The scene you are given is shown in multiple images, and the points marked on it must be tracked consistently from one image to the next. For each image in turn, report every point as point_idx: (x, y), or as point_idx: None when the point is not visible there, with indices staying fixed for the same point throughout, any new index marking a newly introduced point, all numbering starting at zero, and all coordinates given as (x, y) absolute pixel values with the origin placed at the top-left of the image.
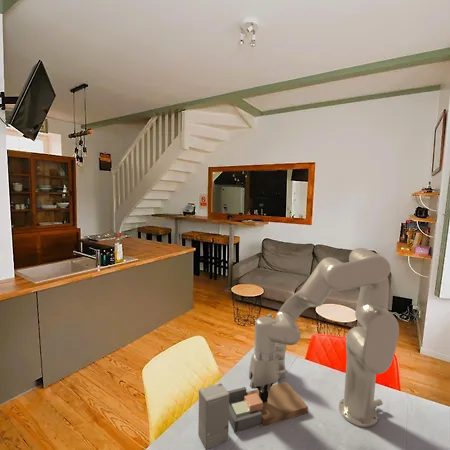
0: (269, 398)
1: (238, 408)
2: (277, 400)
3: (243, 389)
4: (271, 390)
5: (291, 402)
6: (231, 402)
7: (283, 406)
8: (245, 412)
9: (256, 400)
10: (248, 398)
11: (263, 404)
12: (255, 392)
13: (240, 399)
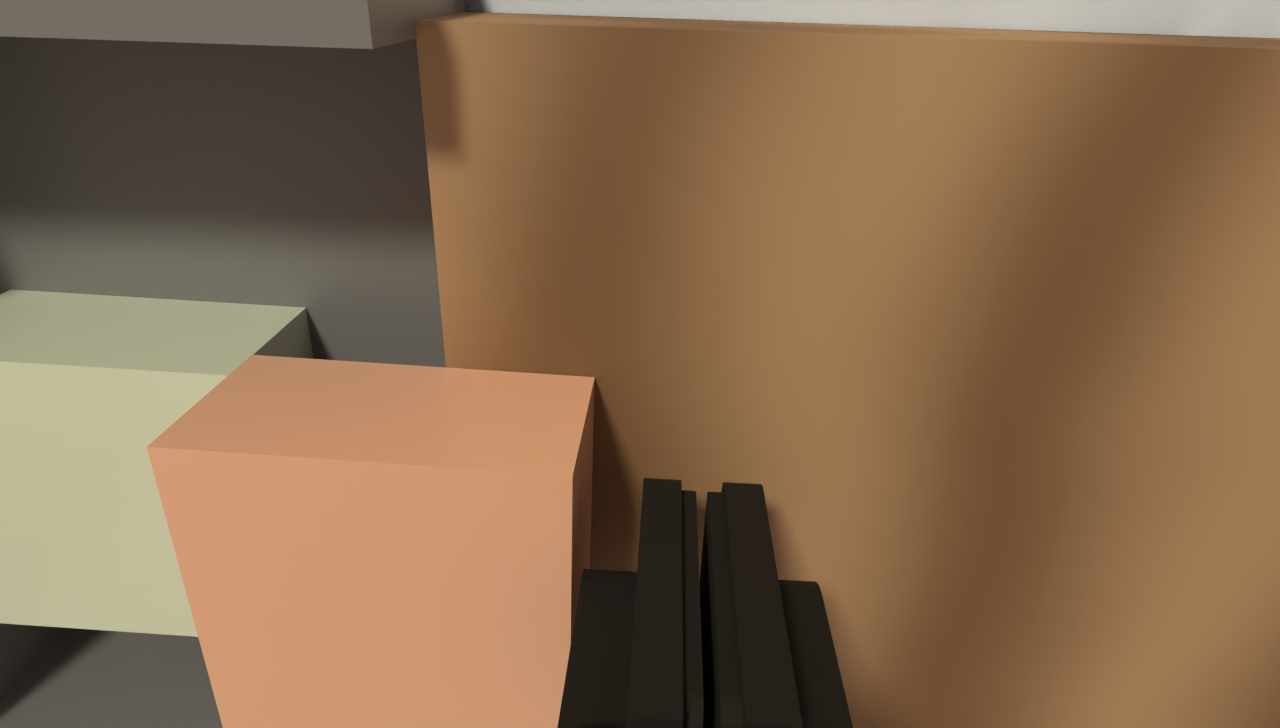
0: (909, 462)
1: (49, 516)
2: (1032, 571)
3: (256, 35)
4: (1178, 246)
5: (1252, 694)
6: (31, 66)
7: (1018, 713)
8: (192, 629)
9: (443, 675)
10: (249, 561)
11: None
12: (688, 144)
13: (282, 52)
